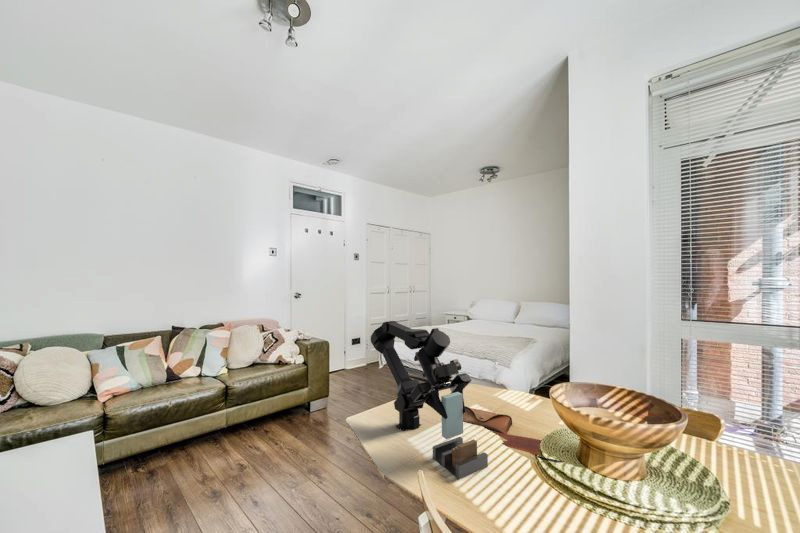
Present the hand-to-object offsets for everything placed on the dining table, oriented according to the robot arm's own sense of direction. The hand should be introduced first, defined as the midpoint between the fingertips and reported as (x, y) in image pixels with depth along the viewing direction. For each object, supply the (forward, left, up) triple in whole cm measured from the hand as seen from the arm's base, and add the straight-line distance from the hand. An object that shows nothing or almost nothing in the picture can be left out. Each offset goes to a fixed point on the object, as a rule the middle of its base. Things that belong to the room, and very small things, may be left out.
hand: (455, 415), depth 88 cm
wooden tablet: (+7, +21, -14) cm, 26 cm away
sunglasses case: (-7, +25, -13) cm, 29 cm away
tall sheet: (-1, 0, -6) cm, 6 cm away
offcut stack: (+3, -1, -12) cm, 12 cm away
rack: (+1, 0, -13) cm, 13 cm away
